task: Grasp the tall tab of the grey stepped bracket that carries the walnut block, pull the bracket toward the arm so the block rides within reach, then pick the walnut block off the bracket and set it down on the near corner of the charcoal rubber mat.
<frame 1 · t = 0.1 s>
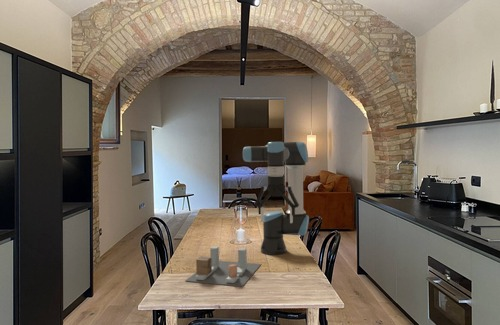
hand: (276, 222, 170), 28 cm above the table, fingers open, 13 cm apart
peach egg shape: (233, 276, 173), point 2 cm above the table, touching strip A broken
block: (204, 272, 179), point 2 cm above the table, touching grey stepped bracket
strip A broken: (237, 276, 179), resting on mat
mat: (225, 272, 185), on the table
grey stepped bracket: (208, 262, 183), point 6 cm above the table, slide at 0.0 cm, touching block
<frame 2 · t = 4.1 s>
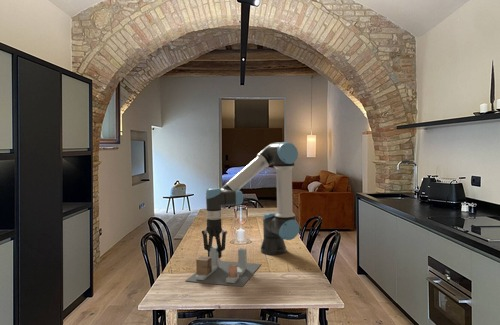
hand: (214, 263, 192), 3 cm above the table, fingers closed on grey stepped bracket, 3 cm apart
grey stepped bracket: (208, 262, 183), point 6 cm above the table, slide at 0.0 cm, touching block, gripper
everything else where it was.
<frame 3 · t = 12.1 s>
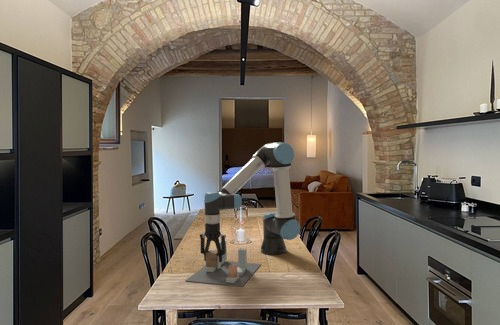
hand: (213, 267, 190), 1 cm above the table, fingers closed on block, 5 cm apart
block: (213, 265, 190), point 2 cm above the table, touching gripper, grey stepped bracket
grey stepped bracket: (216, 255, 194), point 6 cm above the table, slide at 11.5 cm, touching block
everything else where it was.
when the fingers open (1 cm above the table, at t = 16.9 s): block drops 2 cm, resting on mat.
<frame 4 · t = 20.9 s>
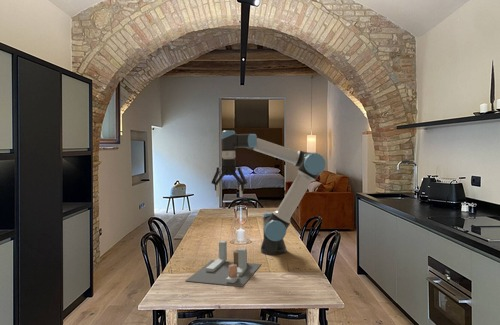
hand: (229, 196, 207), 35 cm above the table, fingers open, 13 cm apart
block: (240, 264, 197), resting on mat
grey stepped bracket: (217, 255, 195), point 6 cm above the table, slide at 11.8 cm
everything else where it was.
at the end: grey stepped bracket slide at 11.8 cm; block inside the target area (0.0 cm from its centre), resting on mat; block tilted 0° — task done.
